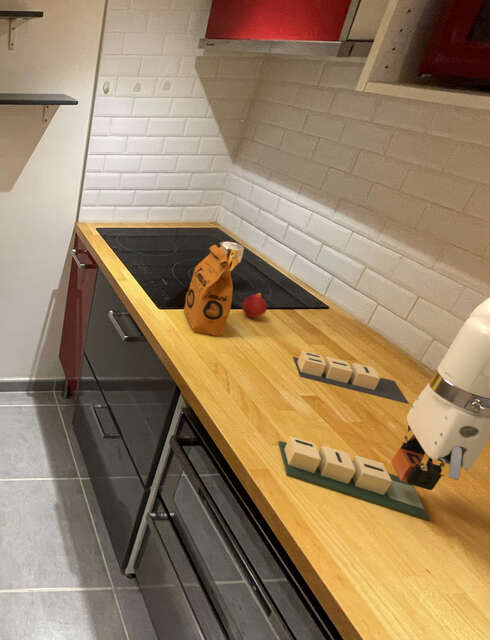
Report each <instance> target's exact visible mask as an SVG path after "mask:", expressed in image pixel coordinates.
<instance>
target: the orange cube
mask: <svg viewBox="0 0 490 640" xmlns="http://www.w3.org/2000/svg"><path fill="white" fill-rule="evenodd" d="M423 456H424V455H423V454H419V453H416V452H412V451H408V450H405V449H402V448H401V447H399V448H398V450H397V451H396V453H395V455H394V456H393V458H392V460H391V461H390V463H391V465H392V467H393V469H394V470H395V473H396V475H397V476H399V478H400V480H401V481H404V482H407V480H406V479H407V477H408V476H409V474H410V473H411V471H412V470H413V468H414V466H415V465H416V464H419V465H420V463H421V461H422V459H423ZM431 464H435V462H434V460H432V463H431ZM407 483H408V482H407Z"/></svg>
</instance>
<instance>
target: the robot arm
mask: <svg viewBox="0 0 490 640" xmlns="http://www.w3.org/2000/svg"><path fill="white" fill-rule="evenodd" d="M406 422H407V424H408V425H407V433H406V434H405V435H404V436H403V440H404V441H403V442H402V444H401V446H400V448H402V449H405V450H408V451H412V452H416V453H419V454H423V455H424V456H423V459H422V461H421V463H420V465H419V464H416V465H415V466H414V468H413V470H412V471H411V473H410V474H409V476H408V477H407V479H406V480H407V482H408V483H409V484H411V485H413V487H414V486H415V487H418V488H420V489H424V490H426V491H427V490H428V491H433V490H434V489H435V487H436V485H437V484H438V482H440V479H441V478H442V477H445V478H449V479H451V480H455V481H459V480H460V477H461V469H464V470H466V471H468V470H472V468H473V466H474V465H475V464H476V462H477V460H478V459H479V457H480V456H481V454H482V452H483V451H484V449H485V447H486V445H487V443H488V441H489V439H490V296H489V297H487V298H486V299H485V300H483V301H482V302H481V303H480V304H479V305H477V306H476V307H475V308H474V309H473V310H472V312H471V313H470V315H469V317H468V318H467V319H466V320H465V321H464V323H463V325H462V326H461V327H460V329H459V331H458V333H457V334H456V336H455V337H454V340H453V341H452V343H451V344H450V346H449V348H448V350H447V351H446V353H445V354H444V355H443V358H442V359H441V361H440V363H439V365H437V368H436V370H435V371H434V373H433V375H432V377H431V378H430V380H429V381H428V383H427V385H426V386H425V387H424V388H423V390H422V391H421V392H420V394H419V395H418V396H417V398H416V399H415V401H414V402H413V404H412V405H411V406H410V409H409V411H408V412H407V414H406ZM432 461H433V462H434V461H438V462H440V463H439V464H436V463H434V464H431V463H432Z"/></svg>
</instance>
